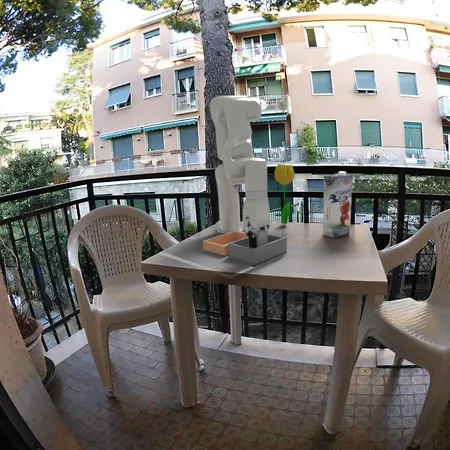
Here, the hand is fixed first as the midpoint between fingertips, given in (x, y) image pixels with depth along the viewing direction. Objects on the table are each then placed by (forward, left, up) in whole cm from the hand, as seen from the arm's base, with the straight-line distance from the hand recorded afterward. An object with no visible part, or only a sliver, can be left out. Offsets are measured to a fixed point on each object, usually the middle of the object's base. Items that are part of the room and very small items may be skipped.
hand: (258, 245), depth 114 cm
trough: (-14, 0, -4) cm, 15 cm away
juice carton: (+9, +41, -4) cm, 42 cm away
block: (0, 0, -1) cm, 1 cm away
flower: (-19, +43, -4) cm, 47 cm away
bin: (0, 0, -4) cm, 4 cm away
